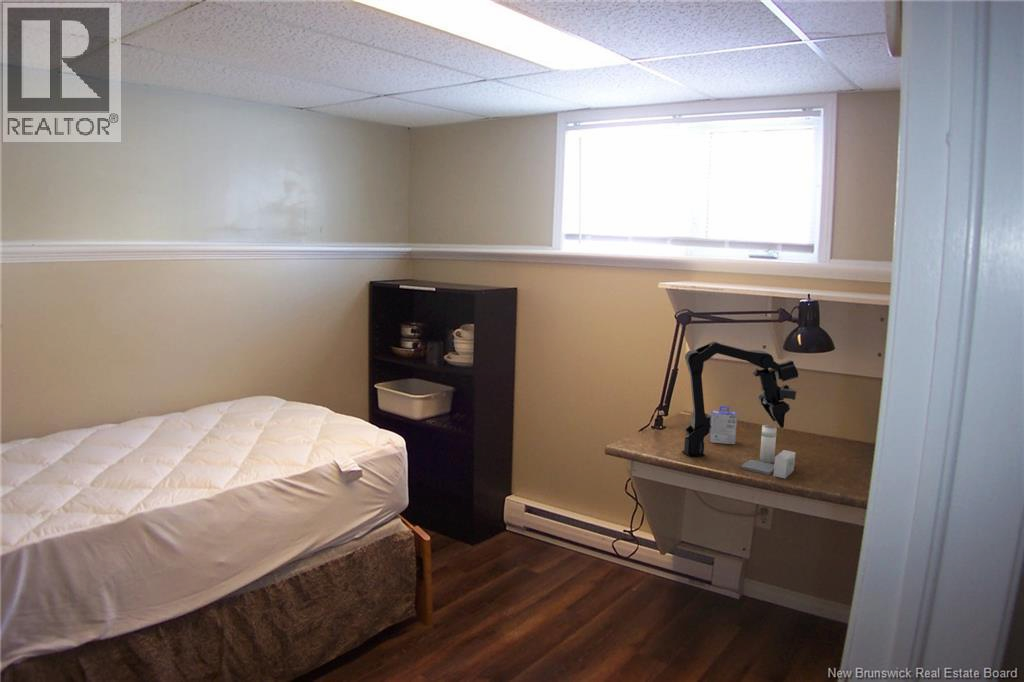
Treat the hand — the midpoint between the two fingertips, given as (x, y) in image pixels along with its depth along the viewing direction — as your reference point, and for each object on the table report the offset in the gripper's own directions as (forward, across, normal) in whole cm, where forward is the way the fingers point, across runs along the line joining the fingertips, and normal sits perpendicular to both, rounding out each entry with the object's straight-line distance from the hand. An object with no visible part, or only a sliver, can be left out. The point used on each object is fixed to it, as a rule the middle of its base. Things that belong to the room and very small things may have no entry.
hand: (778, 424), depth 265 cm
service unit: (+12, -19, +6) cm, 23 cm away
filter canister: (+11, -5, +8) cm, 14 cm away
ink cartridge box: (+8, +18, +19) cm, 27 cm away
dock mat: (+10, -14, +13) cm, 21 cm away
